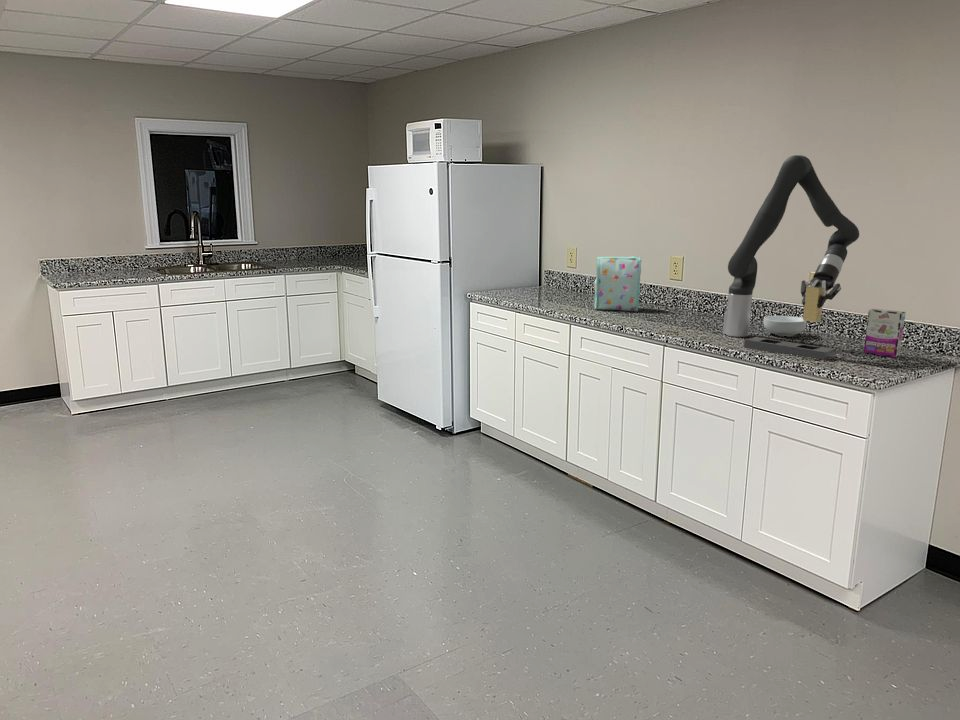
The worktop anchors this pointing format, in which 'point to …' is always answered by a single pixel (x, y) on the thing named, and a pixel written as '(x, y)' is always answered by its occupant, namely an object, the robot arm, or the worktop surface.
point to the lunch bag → (617, 283)
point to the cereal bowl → (784, 325)
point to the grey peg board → (789, 348)
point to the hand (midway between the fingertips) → (811, 305)
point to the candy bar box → (884, 332)
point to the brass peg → (812, 304)
